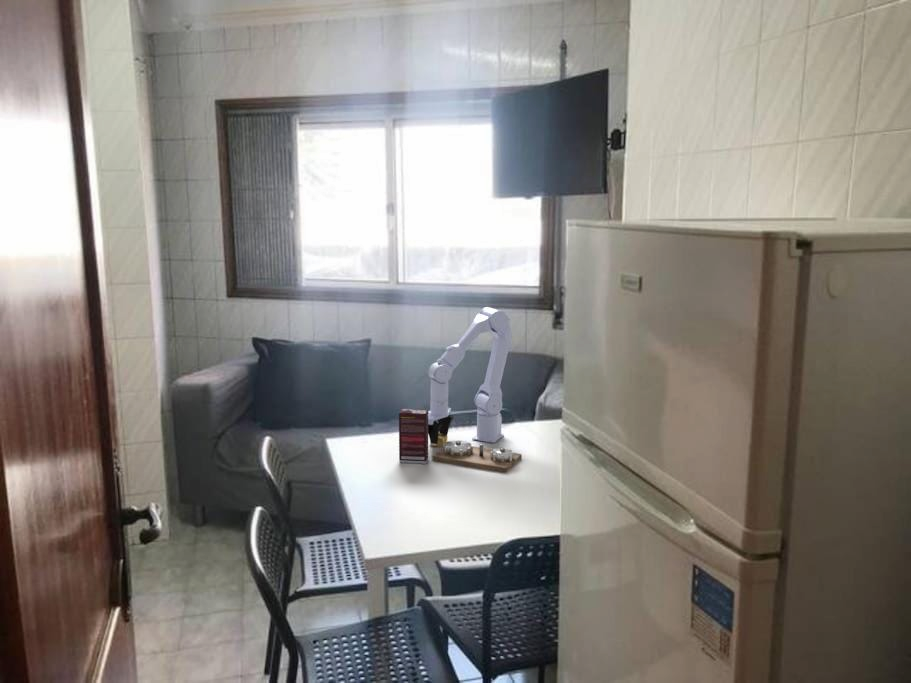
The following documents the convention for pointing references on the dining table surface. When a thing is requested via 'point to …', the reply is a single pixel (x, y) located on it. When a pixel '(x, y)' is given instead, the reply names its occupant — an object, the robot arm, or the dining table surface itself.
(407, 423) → the supplement box
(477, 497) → the dining table surface
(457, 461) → the gear board
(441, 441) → the brass gear
